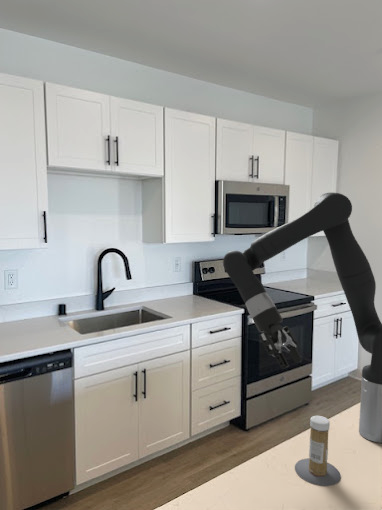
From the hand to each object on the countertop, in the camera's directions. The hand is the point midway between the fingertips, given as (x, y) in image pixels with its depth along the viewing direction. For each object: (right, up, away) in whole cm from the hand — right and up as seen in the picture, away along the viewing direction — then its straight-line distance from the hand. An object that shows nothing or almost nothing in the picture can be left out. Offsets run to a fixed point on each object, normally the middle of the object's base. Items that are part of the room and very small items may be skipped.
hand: (292, 365), depth 104 cm
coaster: (+4, -25, -7) cm, 26 cm away
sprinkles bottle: (+4, -25, -7) cm, 26 cm away
